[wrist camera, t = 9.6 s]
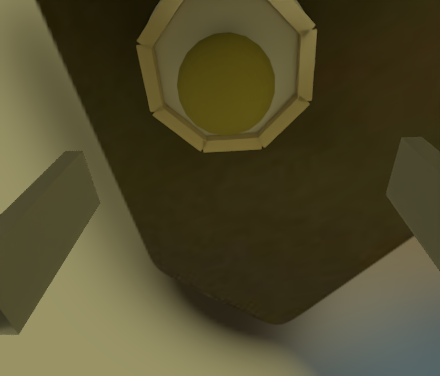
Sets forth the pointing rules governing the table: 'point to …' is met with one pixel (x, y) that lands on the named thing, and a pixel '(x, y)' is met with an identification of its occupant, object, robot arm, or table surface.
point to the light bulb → (226, 84)
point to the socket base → (239, 24)
